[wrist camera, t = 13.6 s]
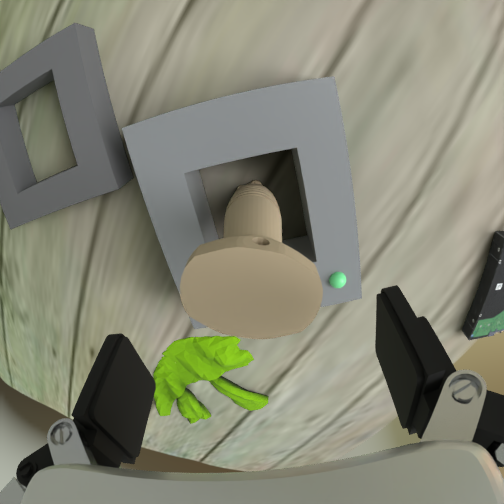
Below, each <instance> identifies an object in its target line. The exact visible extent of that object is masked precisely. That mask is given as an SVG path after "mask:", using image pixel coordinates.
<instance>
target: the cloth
mask: <svg viewBox="0 0 504 504" xmlns="http://www.w3.org/2000/svg"><path fill="white" fill-rule="evenodd" d="M239 342H240V339H238V338H237V337H235V336H233V337H231V336H227V337H220V336H213V337H208V336H205V337H195V338H194V337H189V338H185V339H180V340H177V341H174V342H173V343H172V344H171V345H170V346H169V347H168V348H167V350H166V351H164V352H163V353H162V354H163V355H164V357H162V359H161V360H160V361H159V362H158V363H159V364H157V367H156V370H155V371H154V374H153V376H154V378H153V379H154V380H155V383H156V389H155V393H154V398H155V401H156V408H157V410H158V413H159V415H160V416H167V415H170V412H171V407H172V404H173V402H174V400H175V399H177V406H178V409H179V411H180V412H181V414H182V416H183V417H185V418H188V420H189V422H190V423H195V422H196V421H198V420H199V419H200V418H201V419H207V418H209V417H211V414H210V413H209V411H208V410H207V408H206V407H205V406H204V405H203V404H202V403H201V402H200V401H198V400H197V399H196V397H195V396H194V394H193V393H192V392H191V391H190V390H189V389H187V388H186V386H187V385H188V384H190V383H195V382H197V381H198V380H207V381H210V383H211V384H212V385H213V386H214V387H215V388H216V389H217V390H218V391H219V392H221V393H223V394H225V395H226V396H228V397H230V398H231V399H232V400H233V401H234V402H235V403H236V404H238V405H239V406H241V407H243V408H245V409H247V410H258V409H261V408H263V407H264V406H265V405H266V404H268V396H266V395H262V394H257V393H252V392H249V391H247V390H246V389H244V388H242V387H240V386H239V385H237V384H235V383H233V382H232V381H230V380H228V379H226V378H224V377H223V376H221V375H222V374H223V373H225V372H226V371H229V370H232V369H235V368H240V367H243V366H246V365H248V363H249V362H251V361H252V360H254V359H253V357H252V355H251V354H250V353H249V352H248V351H247V350H240V349H239V348H238V346H237V344H238V343H239ZM175 362H176V363H175Z"/></svg>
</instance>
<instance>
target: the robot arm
mask: <svg viewBox="0 0 504 504" xmlns="http://www.w3.org/2000/svg"><path fill="white" fill-rule="evenodd" d="M375 348H376V354H377V357H378V360H379V363H380V365H381V368H382V371H383V374H384V376H385V379H386V382H387V385H388V388H389V390H390V393H391V396H392V399H393V402H394V405H395V408H396V411H397V414H398V417H399V420H400V423H401V426H402V428H407V429H408V432H409V435H410V434H413V433H417V434H418V437H419V438H420V439H421V441H420V442H419V443H414V444H408V445H404V446H400V447H396V448H391V449H387V450H382V451H379V452H374V453H370V454H366V455H361V456H357V457H352V458H348V459H342V460H336V461H331V462H326V463H320V464H314V465H307V466H300V467H293V468H284V469H275V470H264V471H252V472H235V473H171V472H155V471H142V470H131V469H122V468H121V467H120V464H121V462H123V463H130V464H134V463H135V459H136V457H138V456H139V453H140V449H141V445H142V441H143V437H144V433H145V428H146V424H147V420H148V416H149V412H150V409H151V405H152V401H153V397H154V393H155V389H156V383H155V380H154V379H153V377H152V376H151V374H150V372H149V371H148V369H147V368H146V366H145V365H144V363H143V362H142V360H141V358H140V357H139V355H138V354H137V352H136V350H135V349H134V347H133V345H132V344H131V342H130V340H129V339H128V338H127V337H125V336H124V335H123V334H111V335H108V336H107V337H106V339H105V341H104V343H103V345H102V348H101V350H100V352H99V354H98V356H97V358H96V360H95V362H94V365H93V367H92V369H91V371H90V373H89V375H88V378H87V380H86V382H85V384H84V387H83V389H82V391H81V394H80V396H79V398H78V401H77V403H76V405H75V408H74V410H73V413H72V416H73V417H74V419H73V421H72V420H70V419H61V420H58V421H57V422H56V423H54V424H53V425H52V427H51V428H50V429H49V432H48V435H47V439H48V444H46V445H45V446H43V447H42V448H40V449H39V450H37V451H35V452H34V453H32V454H31V455H29V456H28V457H26V458H25V459H23V461H21V462H20V464H19V465H18V468H17V473H16V474H17V479H16V478H15V477H14V478H13V479H12V480H11V481H10V482H9V483H8V484H7V485H6V486H5V487H4V489H3V490H2V491H1V492H0V504H504V479H503V477H502V475H501V473H500V471H499V468H498V467H504V395H500V394H498V393H494V392H491V391H488V390H487V387H486V383H485V381H484V379H483V378H482V376H480V375H479V374H478V373H476V372H474V371H471V370H459V371H456V369H455V368H454V366H453V364H452V362H451V360H450V358H449V357H448V355H447V353H446V351H445V349H444V348H443V346H442V344H441V342H440V341H439V339H438V337H437V335H436V334H435V332H434V330H433V329H432V327H431V325H430V324H429V322H428V320H427V319H426V318H425V317H424V316H422V317H418V318H417V317H416V315H415V313H414V312H413V310H412V308H411V307H410V305H409V303H408V302H407V300H406V298H405V297H404V295H403V293H402V292H401V290H400V288H399V287H398V286H397V285H396V286H392V287H388V288H384V289H382V290H381V293H380V294H377V310H376V344H375Z"/></svg>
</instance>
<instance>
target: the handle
mask: <svg viewBox="0 0 504 504" xmlns="http://www.w3.org/2000/svg"><path fill="white" fill-rule="evenodd" d="M180 297H181V301H182V305H183V307H184V309H185V311H186V312H187V314H188V315H189V317H191V318H193V319H195V320H196V321H198V322H200V323H202V324H203V325H205V326H207V327H209V328H211V329H213V330H215V331H218V332H220V333H222V334H227V335H231V336H237V337H244V338H251V339H270V338H276V337H281V336H286V335H291V334H295V333H299V332H301V331H302V330H304V329H305V328H306V327H307V326H308V325H310V324H311V323H312V321H313V320H314V318H315V317H316V315H317V313H318V311H319V309H320V306H321V302H322V297H323V288H322V283H321V280H320V276H319V274H318V271H317V268H316V266H315V264H314V263H313V262H311V261H310V260H309V259H307V258H306V257H305V256H303V255H302V254H301V253H299V252H298V251H296V250H294V249H293V248H291V247H289V246H287V245H285V244H283V243H282V222H281V214H280V209H279V206H278V204H277V201H276V199H275V197H274V196H273V193H272V192H271V191H270V190H268V189H267V188H266V187H264V186H263V185H262V184H261V182H260V181H258V180H253V181H252V182H251V183H249V184H246V185H240V186H239V187H238V188H237V189H236V191H235V193H234V195H233V196H232V198H231V199H230V201H229V204H228V206H227V209H226V213H225V219H224V234H223V238H222V239H218V240H214V241H211V242H208V243H205V244H202V245H199V246H198V247H197V248H196V249H195V250H194V252H193V253H192V255H191V256H190V257H189V259H188V261H187V264H186V266H185V269H184V272H183V274H182V277H181V283H180Z"/></svg>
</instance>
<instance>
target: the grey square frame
mask: <svg viewBox="0 0 504 504" xmlns="http://www.w3.org/2000/svg"><path fill="white" fill-rule="evenodd" d="M53 80H54V81H55V85H56V89H57V94H58V98H59V102H60V106H61V110H62V114H63V117H64V121H65V125H66V128H67V132H68V135H69V139H70V142H71V145H72V149H73V152H74V155H75V158H76V161H77V164H78V165H76V166H74V167H71V168H69V169H67V170H64V171H62V172H60V173H58V174H55V175H53V176H51V177H49V178H47V179H44V180H42V181H40V182H38V183H37V182H36V179H35V176H34V173H33V170H32V167H31V163H30V160H29V157H28V154H27V150H26V147H25V144H24V140H23V136H22V133H21V129H20V125H19V121H18V117H17V113H16V109H15V104H16V103H18V102H19V101H21V100H22V99H24V98H25V97H27V96H28V95H30V94H32V93H33V92H35V91H36V90H38V89H40V88H41V87H43V86H45V85H46V84H48V83H50V82H51V81H53ZM131 179H133V175H132V172H131V169H130V166H129V163H128V159H127V156H126V153H125V150H124V146H123V143H122V140H121V136H120V133H119V129H118V126H117V122H116V119H115V115H114V112H113V108H112V104H111V101H110V97H109V93H108V89H107V85H106V81H105V77H104V73H103V69H102V64H101V60H100V56H99V51H98V47H97V42H96V37H95V32H94V29H93V28H90V27H86V26H83V25H80V24H77V23H74V24H72V25H70V26H68V27H66V28H65V29H63V30H61V31H60V32H58V33H56V34H55V35H53V36H51V37H50V38H48V39H46V40H45V41H43V42H42V43H40V44H39V45H37V46H36V47H34V48H33V49H31V50H30V51H28V52H27V53H25V54H24V55H22V56H21V57H20V58H18V59H17V60H15V61H14V62H13V63H11V64H10V65H9V66H7V67H6V68H5V69H3V70H2V71H1V72H0V204H1V207H2V209H3V212H4V214H5V217H6V219H7V222H8V224H9V227H10V229H13V228H15V227H18V226H20V225H22V224H25V223H27V222H30V221H32V220H34V219H37V218H39V217H42V216H45V215H47V214H50V213H52V212H55V211H58V210H60V209H63V208H66V207H68V206H71V205H74V204H76V203H79V202H82V201H85V200H88V199H91V198H93V197H96V196H99V195H102V194H105V193H108V192H111V191H114V190H117V189H119V188H121V187H122V186H123V185H125V184H126V183H127V182H129V181H130V180H131Z"/></svg>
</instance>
